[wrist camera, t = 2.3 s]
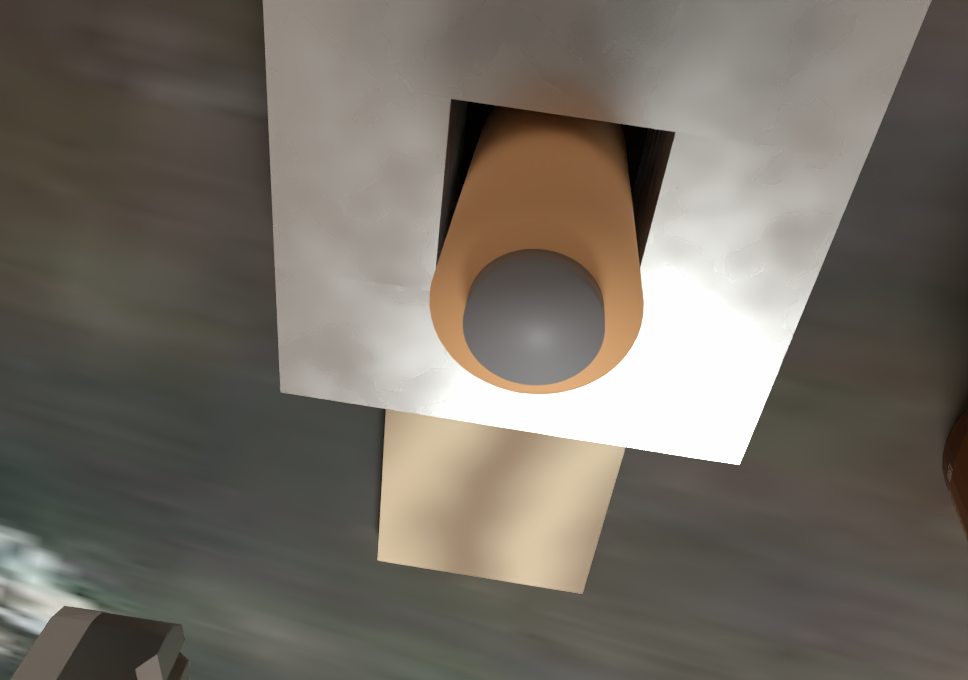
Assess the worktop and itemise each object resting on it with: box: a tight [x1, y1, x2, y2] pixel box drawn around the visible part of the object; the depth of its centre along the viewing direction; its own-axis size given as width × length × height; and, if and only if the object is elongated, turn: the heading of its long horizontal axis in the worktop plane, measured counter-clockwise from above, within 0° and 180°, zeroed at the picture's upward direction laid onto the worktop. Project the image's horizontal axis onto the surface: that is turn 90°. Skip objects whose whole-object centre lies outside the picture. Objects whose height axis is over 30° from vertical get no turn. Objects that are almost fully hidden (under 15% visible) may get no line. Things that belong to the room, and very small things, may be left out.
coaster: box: [378, 409, 625, 594], centre depth 35 cm, size 10×10×1 cm
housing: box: [263, 0, 931, 465], centre depth 24 cm, size 16×16×5 cm
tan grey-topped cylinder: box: [429, 105, 644, 395], centre depth 22 cm, size 5×5×11 cm
